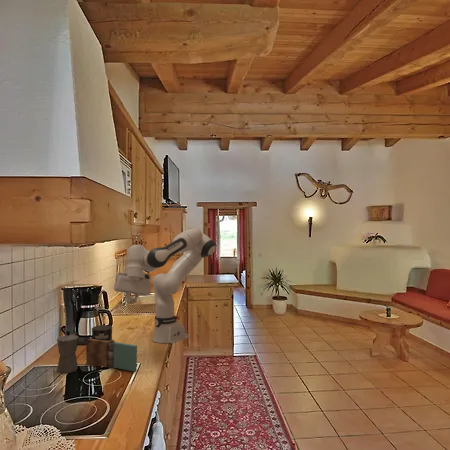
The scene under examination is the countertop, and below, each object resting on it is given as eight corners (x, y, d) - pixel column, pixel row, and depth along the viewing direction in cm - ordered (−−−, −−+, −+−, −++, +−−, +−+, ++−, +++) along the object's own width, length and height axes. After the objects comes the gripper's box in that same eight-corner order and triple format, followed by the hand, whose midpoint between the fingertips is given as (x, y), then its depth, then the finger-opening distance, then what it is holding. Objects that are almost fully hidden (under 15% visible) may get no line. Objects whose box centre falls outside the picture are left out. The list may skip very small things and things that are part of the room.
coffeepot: (68, 376, 162) (69, 336, 162) (49, 374, 163) (50, 334, 163) (86, 363, 177) (87, 326, 177) (69, 362, 178) (69, 325, 178)
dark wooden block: (85, 364, 175) (85, 338, 176) (89, 362, 178) (89, 336, 178) (112, 368, 171) (112, 341, 171) (116, 366, 174) (116, 339, 174)
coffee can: (111, 356, 187) (112, 329, 187) (90, 358, 184) (90, 330, 184) (112, 350, 196) (112, 324, 197) (92, 351, 194) (92, 325, 194)
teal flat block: (106, 367, 172) (107, 342, 172) (111, 364, 175) (111, 340, 175) (133, 372, 166) (134, 346, 166) (137, 369, 169) (137, 345, 169)
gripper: (119, 270, 176) (117, 299, 171) (153, 277, 190) (152, 303, 185) (112, 272, 180) (110, 300, 175) (145, 279, 194) (144, 305, 189)
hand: (132, 302), depth 180 cm, fingers closed
